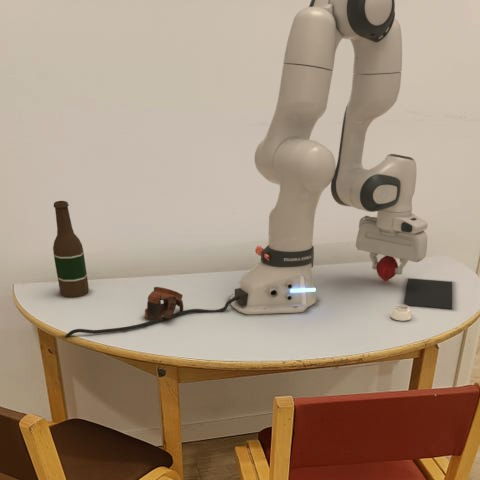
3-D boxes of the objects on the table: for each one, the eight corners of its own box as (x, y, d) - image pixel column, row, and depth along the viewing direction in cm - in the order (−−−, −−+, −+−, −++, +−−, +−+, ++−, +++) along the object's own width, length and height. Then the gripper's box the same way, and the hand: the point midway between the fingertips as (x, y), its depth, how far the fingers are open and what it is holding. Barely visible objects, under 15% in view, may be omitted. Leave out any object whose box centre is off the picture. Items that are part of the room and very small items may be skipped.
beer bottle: (54, 295, 163) (38, 203, 150) (71, 287, 169) (57, 197, 156) (78, 299, 160) (63, 205, 148) (95, 290, 166) (82, 199, 154)
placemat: (452, 309, 151) (452, 308, 151) (403, 305, 154) (403, 304, 154) (451, 282, 169) (452, 281, 169) (408, 279, 172) (408, 278, 172)
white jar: (391, 313, 149) (389, 320, 145) (393, 302, 148) (390, 309, 144) (412, 315, 148) (410, 323, 144) (414, 304, 146) (411, 311, 142)
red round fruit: (397, 284, 166) (401, 255, 162) (377, 284, 166) (380, 255, 162) (393, 278, 171) (397, 249, 167) (373, 277, 171) (376, 249, 167)
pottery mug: (136, 316, 150) (145, 284, 150) (170, 326, 155) (178, 295, 155) (154, 319, 140) (163, 284, 140) (189, 330, 145) (198, 297, 145)
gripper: (354, 216, 164) (349, 266, 172) (421, 228, 152) (413, 281, 160) (366, 212, 168) (361, 261, 175) (433, 224, 156) (425, 276, 164)
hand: (386, 271), depth 167 cm, fingers closed on red round fruit, 6 cm apart
